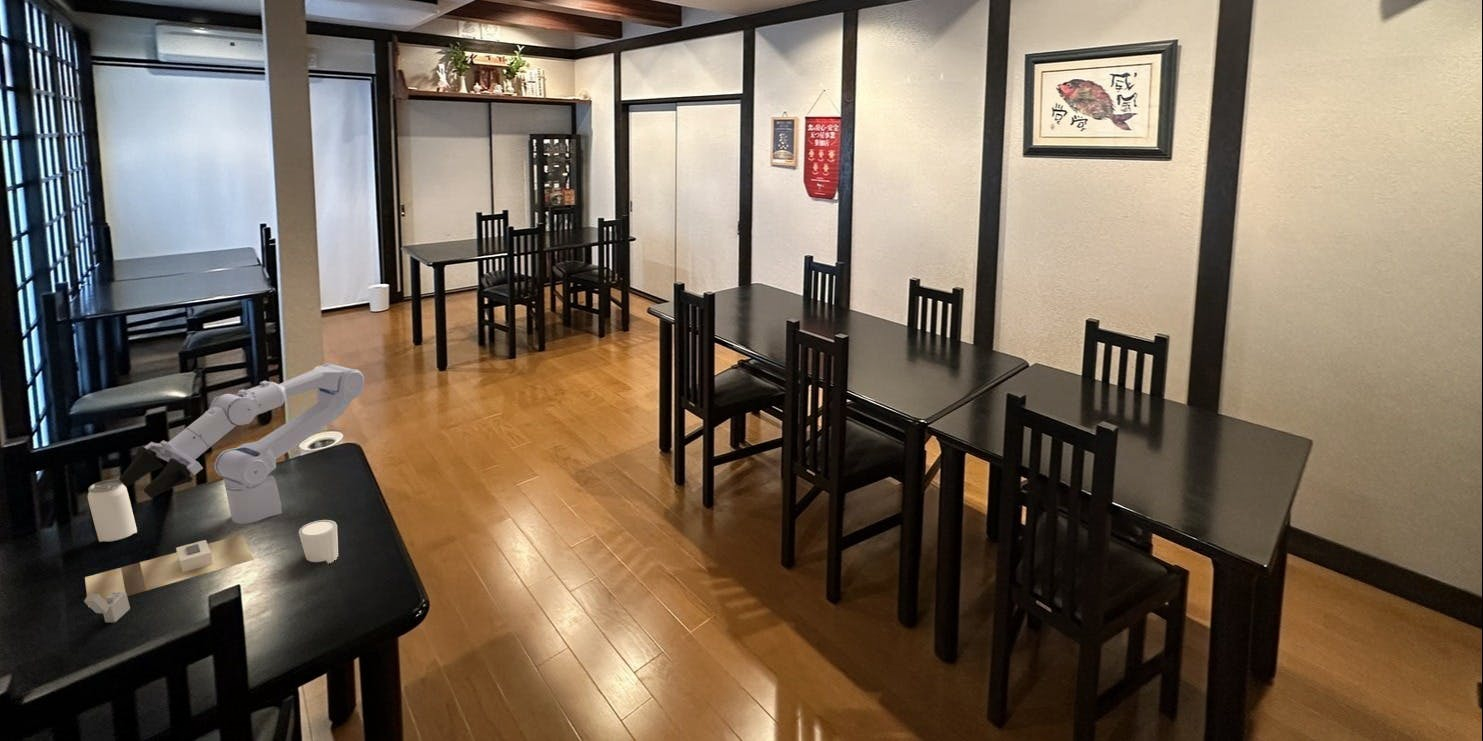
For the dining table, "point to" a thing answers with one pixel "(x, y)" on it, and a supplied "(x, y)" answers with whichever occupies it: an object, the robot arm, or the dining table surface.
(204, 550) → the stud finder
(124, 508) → the can
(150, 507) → the dining table surface
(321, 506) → the dining table surface
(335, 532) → the white cup
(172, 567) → the board
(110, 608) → the lighter
